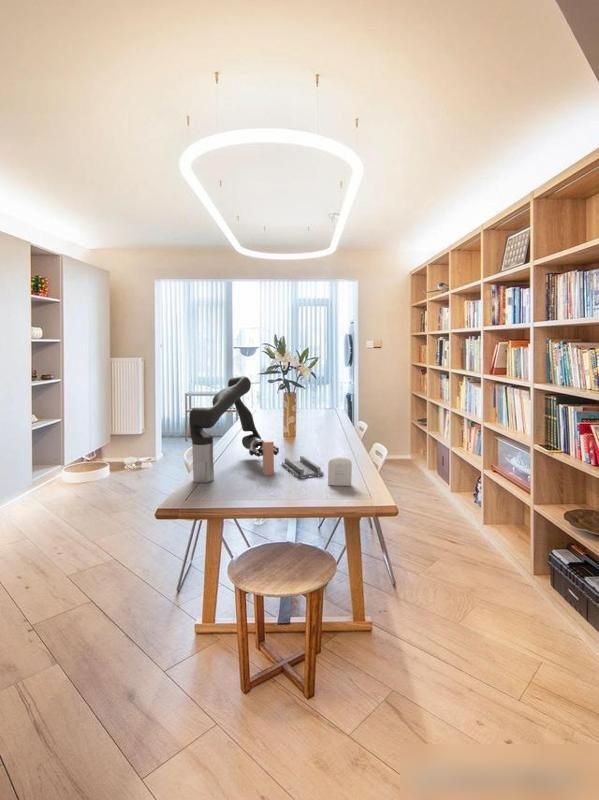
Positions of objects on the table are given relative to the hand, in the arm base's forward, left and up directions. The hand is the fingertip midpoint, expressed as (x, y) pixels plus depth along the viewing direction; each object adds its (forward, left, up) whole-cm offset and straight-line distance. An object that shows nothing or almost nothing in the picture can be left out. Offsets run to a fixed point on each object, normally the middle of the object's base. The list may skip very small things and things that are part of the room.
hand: (267, 453), depth 199 cm
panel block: (-1, 0, -10) cm, 10 cm away
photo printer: (-13, -35, -10) cm, 39 cm away
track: (+7, -15, -10) cm, 20 cm away
